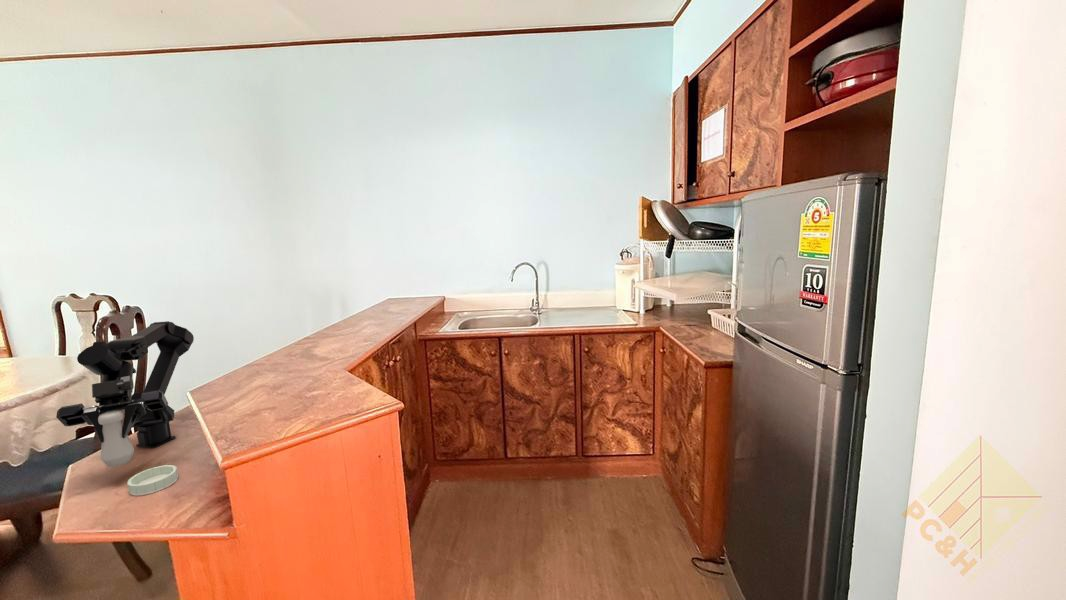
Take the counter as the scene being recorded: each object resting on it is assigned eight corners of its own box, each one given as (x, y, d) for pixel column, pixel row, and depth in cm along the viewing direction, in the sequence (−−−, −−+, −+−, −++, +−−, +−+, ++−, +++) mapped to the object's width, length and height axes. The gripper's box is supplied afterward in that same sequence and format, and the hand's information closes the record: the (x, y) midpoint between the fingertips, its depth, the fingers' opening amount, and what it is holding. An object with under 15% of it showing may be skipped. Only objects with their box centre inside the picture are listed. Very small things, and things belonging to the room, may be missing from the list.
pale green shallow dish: (158, 473, 107) (156, 463, 106) (187, 475, 105) (185, 466, 105) (119, 493, 98) (117, 484, 98) (149, 497, 97) (148, 487, 96)
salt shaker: (114, 470, 99) (104, 418, 97) (96, 468, 100) (85, 417, 98) (141, 457, 105) (132, 408, 103) (123, 455, 106) (114, 406, 104)
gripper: (50, 374, 97) (41, 437, 90) (157, 360, 107) (156, 415, 100) (69, 396, 105) (62, 456, 97) (167, 380, 115) (166, 433, 108)
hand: (113, 439), depth 100 cm, fingers closed on salt shaker, 3 cm apart
